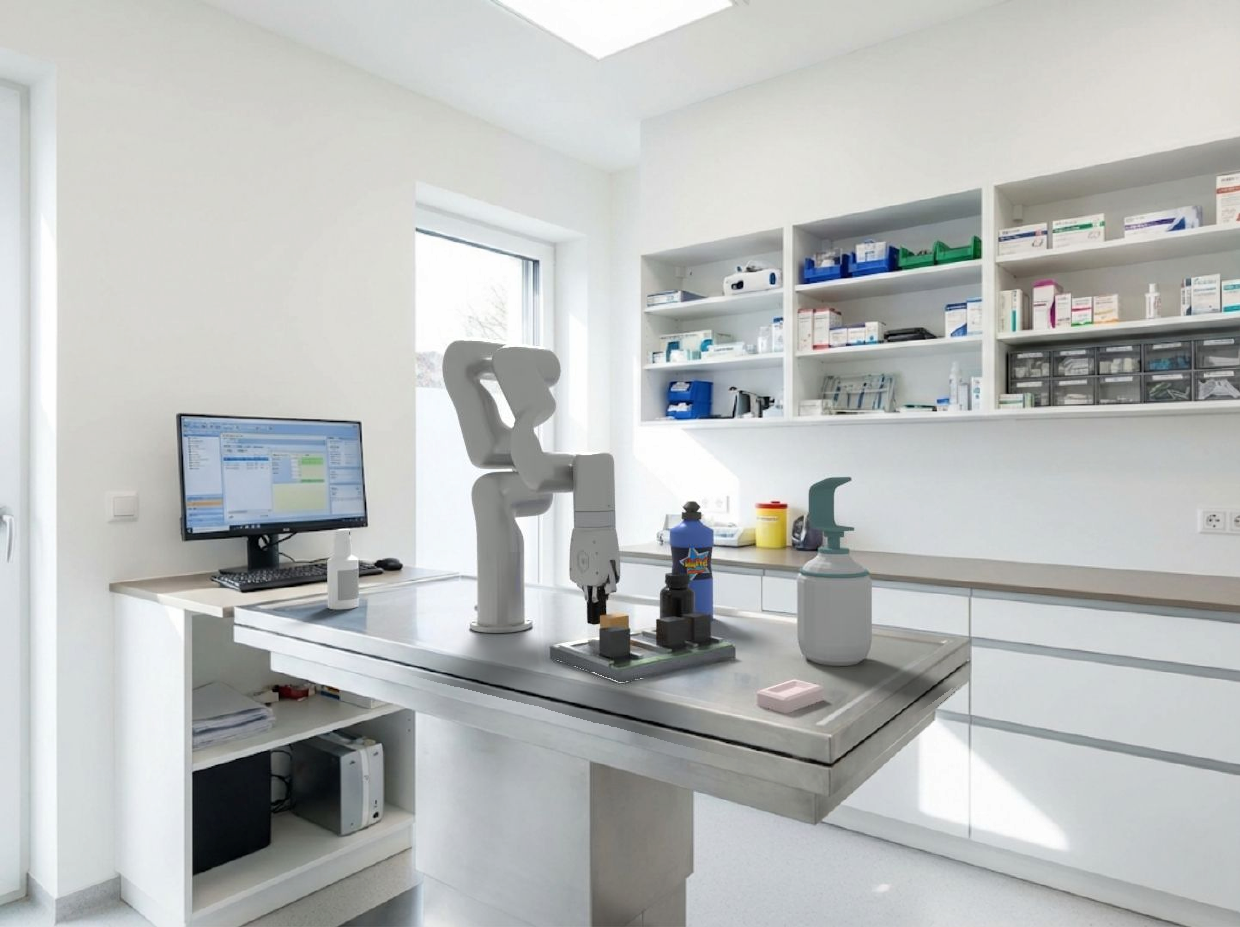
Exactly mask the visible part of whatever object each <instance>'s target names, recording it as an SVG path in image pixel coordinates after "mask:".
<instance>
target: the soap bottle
mask: <svg viewBox="0 0 1240 927" xmlns="http://www.w3.org/2000/svg"><path fill="white" fill-rule="evenodd" d="M852 480H853V479H852V477H850V476H836V477H833V476H832V477H827V478H824V479H821V480H819V481H818V482H815V483H813V484H812V485H811V486H810V487H809V489H808V524H809V527H810V529H812V530H816V531H823V533H822V537H823V538H827V543H826V544H827V546H820V547H818V548H817V550H818V552H817V555H816V556H815V557H814V558H813V559H810V560H808V561H807V562H806V563H805V564H804V565H803V566H802V567H800V568H798V570H799V573H798V574H797V577H796V637H797V642H798V647H799V649H800V652H801V654H802V655H803V656H804V657H805V658H806V659H808V660H809V661H810V662H813V663H815V664H819V665H824V666H829V667H830V666H831V667H834V666H835V667H843V666H844V667H847V666H855V665H858V664H859V663H860V662H861V661H863V660H864V659H866V657H868V655H869V653H870V650H871V646H872V640H873V636H872V635H873V634H872V633H873V632H872V631H873V629H872V625H873V624H872V623H873V620H872V618H873V616H872V614H873V612H872V611H873V610H872V606H873V605H872V602H873V600H872V597H873V595H872V594H873V592H872V591H873V588H872V587H873V586H872V585H873V581H872V579H871V577H870V576H869V575H870V571H869V570H868V569H867V568H864V566H863V565H862V564H861V563H860V562H858V561H856V560H855V559H854V558H852V557H851V556H850V548H848V547H843V546H841V538H844V537H845V532H852V531H853V532H854V531H855V527H854V526H853V527H852V526H846V525H839V524H837V523H836V521H835V492H836V489H837V488H838V487H840V486H842V485H845V484H847V483H849V482H852Z"/></svg>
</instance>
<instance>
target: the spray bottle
mask: <svg viewBox="0 0 1240 927" xmlns="http://www.w3.org/2000/svg"><path fill="white" fill-rule="evenodd" d="M351 536H352V535H351V529H350V528H340V529H339V528H338V529H335V530H334V538H333V556H331V557H329V558H328V559H327V561H326V562H327V564H326V567H327V569H326V570H327V571H326V572H327V573H326V574H327V575H326V576H327V577H326V578H327V580H326V581H327V587H326V590H327V608H328V609H329V610H335V611H336V610H338V611H340V610H342V611H344V610H351V609H355V608H357V607H359V605H360V598H359V597H360V592H359V590H360V589H359V588H360V587H359V586H360V582H359V578H360V577H359V576H360V575H359V574H360V573H359V569H360V568H359V558H358V557H356V556H355V555H353V547H352V546H353V545H352V544H353V543H352V542H353V541H352V537H351Z"/></svg>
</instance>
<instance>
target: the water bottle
mask: <svg viewBox="0 0 1240 927" xmlns="http://www.w3.org/2000/svg"><path fill="white" fill-rule="evenodd" d="M682 508H683V510H684V511H681V520H682V521H681V523H679V524H677V525H675V526H673V527H672V528H670V529H669V545H670V553H671V559H672V561H671V562H672V565H671V573H688V574H690V584H689V587H690V588H692V589H693V590H694V592H695V612H702V613H706V614H711V622H712V621H713V620H714V576H713V571H712V570H713V569H712V558H713V556H712V555H713V548H714V540H715V538H714V532H715V531H714V529H713V528H711V527H709V526H708V525H705V524H704V523H703V522H702V521H701V520H702V511H699V510H700V509H701V505H699V503H698V502H696V501H695V500H692V501H691V500H690V501H686V503H685V504H684V505H683V506H682Z"/></svg>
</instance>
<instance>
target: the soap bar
mask: <svg viewBox="0 0 1240 927" xmlns="http://www.w3.org/2000/svg"><path fill="white" fill-rule="evenodd" d="M823 701H824V688H823V686H821V685H820V684H815V683H813V682H807V681H803V680H799V679H791V680H788V681H784V682H782V683H779V684H775V685H772V686H769V687H765V688H762V689H759V690H758V691H756V705H757V706H759V707H762V708H766V709H768V708H769V709H768V710H772V709H773V711H776V712H779V713H783V714H788V713H789V712H790V713H792V712H794V710H795V711H797V710H796V709H798V710H800V709H799V708H801V709H803V708H805V707H809V706H811V704H812V705H814V704H817V703H820V702H823ZM816 702H817V703H816ZM808 705H809V706H808Z"/></svg>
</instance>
